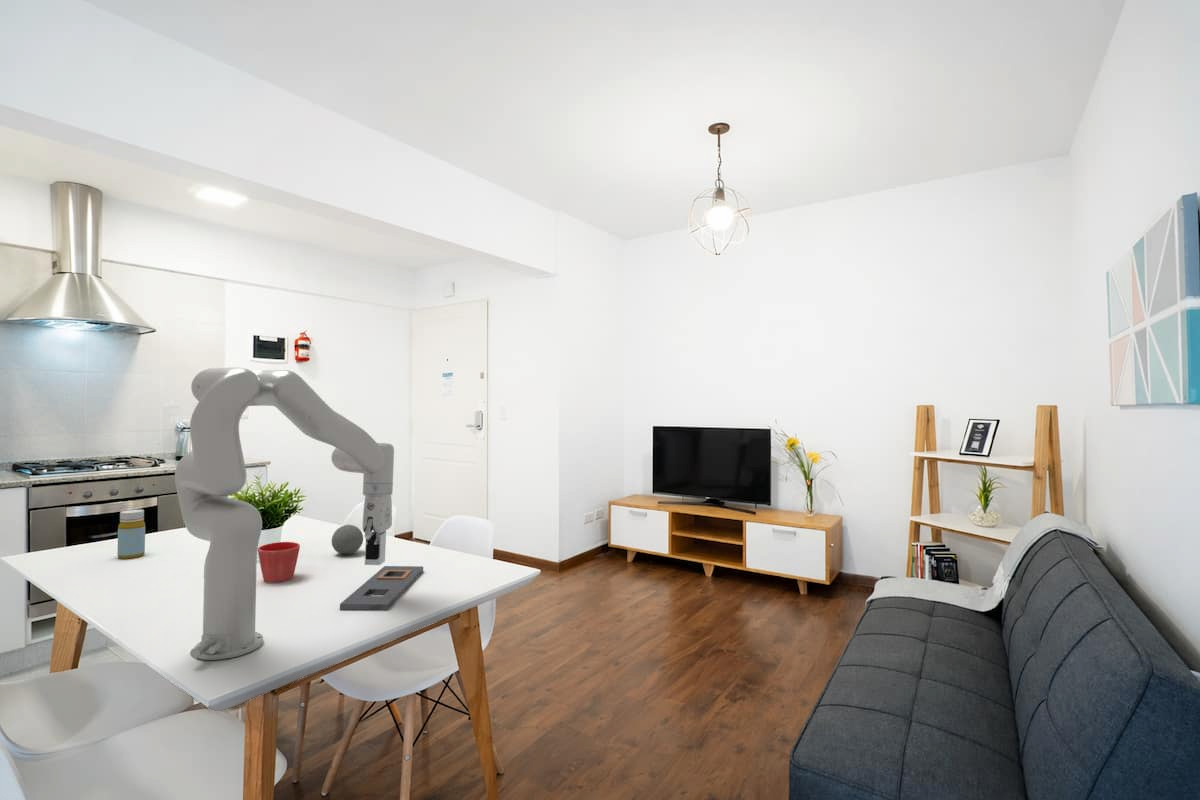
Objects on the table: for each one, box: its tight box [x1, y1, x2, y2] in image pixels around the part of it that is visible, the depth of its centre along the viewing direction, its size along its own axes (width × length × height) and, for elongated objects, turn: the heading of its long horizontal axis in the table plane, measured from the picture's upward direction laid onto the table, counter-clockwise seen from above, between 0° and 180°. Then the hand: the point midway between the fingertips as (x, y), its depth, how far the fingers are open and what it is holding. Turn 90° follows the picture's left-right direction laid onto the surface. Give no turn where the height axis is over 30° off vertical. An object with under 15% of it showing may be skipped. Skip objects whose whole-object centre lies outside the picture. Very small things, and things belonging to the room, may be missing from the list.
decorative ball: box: [331, 524, 364, 556], centre depth 200 cm, size 10×10×10 cm
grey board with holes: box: [339, 565, 424, 611], centre depth 165 cm, size 34×12×2 cm, turn 2°
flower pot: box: [257, 541, 301, 583], centre depth 172 cm, size 11×11×10 cm
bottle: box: [117, 509, 146, 560], centre depth 192 cm, size 7×7×15 cm
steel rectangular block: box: [364, 532, 387, 566], centre depth 157 cm, size 4×4×8 cm
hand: (375, 556), depth 157 cm, fingers closed on steel rectangular block, 4 cm apart
